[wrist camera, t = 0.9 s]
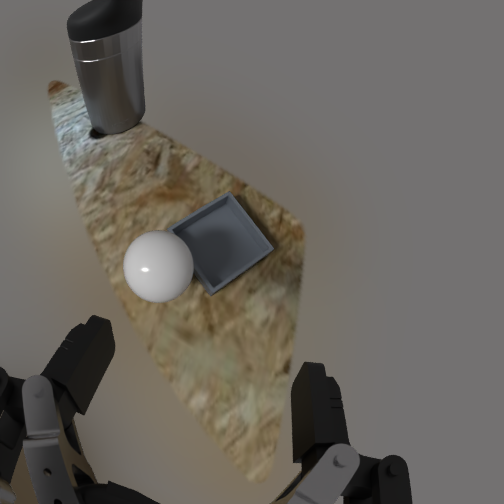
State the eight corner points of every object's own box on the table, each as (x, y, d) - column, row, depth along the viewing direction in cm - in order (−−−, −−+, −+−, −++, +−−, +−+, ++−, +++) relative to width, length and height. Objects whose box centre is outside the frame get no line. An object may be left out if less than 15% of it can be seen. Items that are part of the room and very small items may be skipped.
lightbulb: (201, 295, 31) (208, 277, 21) (151, 318, 29) (133, 311, 18) (178, 247, 32) (176, 207, 22) (130, 268, 30) (105, 237, 19)
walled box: (168, 236, 32) (167, 228, 29) (226, 200, 35) (229, 191, 33) (210, 296, 31) (212, 293, 29) (267, 254, 34) (274, 248, 32)
